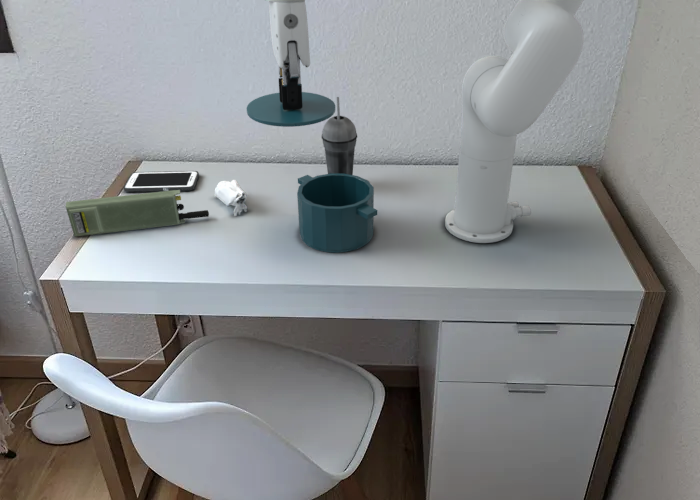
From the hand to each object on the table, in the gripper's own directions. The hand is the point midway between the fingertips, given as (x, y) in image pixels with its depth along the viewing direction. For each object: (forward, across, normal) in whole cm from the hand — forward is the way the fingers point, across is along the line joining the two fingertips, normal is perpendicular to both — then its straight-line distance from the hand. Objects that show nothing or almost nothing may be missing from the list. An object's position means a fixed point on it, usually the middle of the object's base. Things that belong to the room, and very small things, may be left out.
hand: (291, 104), depth 108 cm
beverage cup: (+26, +18, -12) cm, 33 cm away
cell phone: (+26, +28, +25) cm, 46 cm away
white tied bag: (+26, +16, +11) cm, 32 cm away
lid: (+1, 0, 0) cm, 1 cm away
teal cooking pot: (+25, 0, -7) cm, 26 cm away
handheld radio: (+26, +10, +28) cm, 40 cm away
